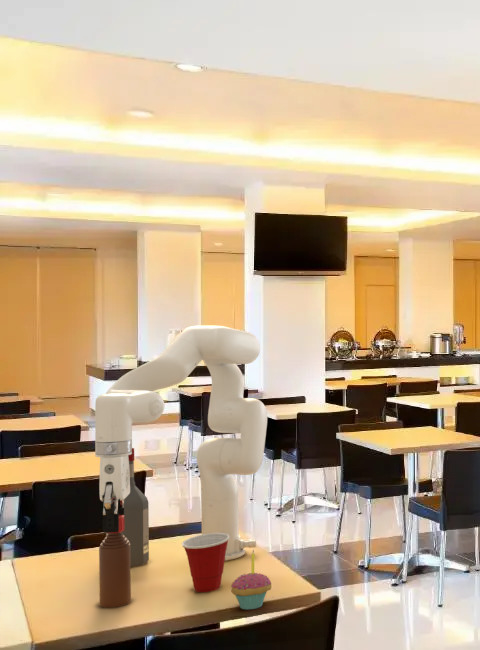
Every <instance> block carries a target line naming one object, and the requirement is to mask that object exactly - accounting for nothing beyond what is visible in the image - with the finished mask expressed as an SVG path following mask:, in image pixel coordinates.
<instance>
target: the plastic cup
mask: <svg viewBox="0 0 480 650" xmlns="http://www.w3.org/2000/svg"><path fill="white" fill-rule="evenodd" d="M229 538H230V536H229V534H225V533H209V534H203V535H202V534H199V535H195V536H192V537H188V538H186V539H185V540H183V541H182V542H181V546H182V548H183V549H184V551H185V554H186V556H187V562H188V566H189V572H190V576H191V579H192V586H193V589H194V591H195V592H196V593H209V592H213V591H214V592H215V591H217V590H219V589H220V588H221V585H222V579H223V574H224V567H225V562H226V561H225V554H226V550H227V543H228V539H229Z"/></svg>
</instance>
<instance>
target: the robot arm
mask: <svg viewBox="0 0 480 650" xmlns="http://www.w3.org/2000/svg"><path fill="white" fill-rule="evenodd" d="M260 352H261V344H260V341H259V339H258V337H257V336H256V335H255V334H253V333H252V332H249V331H246V330H242V329H237V328H233V327H228V326H224V325H193V326H192V325H191V326H189V327H186V328H184V329H183V330H182V331H181V332H180V333H179V334H178V335H177V336H176V337H175V338H174V339H173V340H172V341H171V342H170V344H168V346H167V347H165V349H164V350H162V352H161V353H160V354H159V356H157V357H156V358H154V359H152V360H150V361H147V362H145V363H143V364H142V365H139V366H138V367H135V368H134V369H131V370H130V371H128V372H127V373H124V374H123V375H122V376H121V377H119V378H118V379H117V380H116V382H114V383H113V384H112V385H111V386H110V387H109V388H108V390H107V391H106V392H105V393H104V394H100V395H97V397H96V398H95V404H94V409H95V410H94V411H95V414H94V415H95V417H94V418H95V419H94V420H95V421H94V423H95V425H94V426H95V428H94V429H95V431H94V432H95V433H94V437H95V438H94V441H95V442H94V444H95V446H94V449H95V450H94V451H95V454H94V456H95V457H96V458H99V459H100V460H99V484H98V485H99V489H98V490H99V501H101V502H103V509H102V533H103V534H106V533H112V532H118V531H119V515H124V508H123V507H124V499H125V498H126V497H127V496H128V495H129V494H130V473H129V458H128V455H131V454H132V448H133V424H135V423H136V424H137V423H138V424H148V423H152V422H155V421H157V420H158V419H159V418H160V417H161V416H162V415H163V413H164V410H165V401H164V399H163V397H162V396H161V395H160V394H159V393H157V392H156V391H159V390H163V389H167V388H170V387H173V386H176V385H178V384H182V382H184V381H185V380H186V379H187V378H188V377H189V375H191V373H192V372H193V371H194V370H195V369H196V367H197V366H198V365H199V364H201V362H202V361H203V363H204V364H205V366H206V367H207V369H208V371H209V374H210V377H211V390H210V396H209V405H208V411H207V413H208V414H207V426H208V427H209V429H210V430H211V431H213V432H216V433H222V434H240V438H236V437H235V438H234V437H212V438H208V439H206V440H204V441H203V442H201V443H200V444H199V446H198V448H197V451H196V465H197V469H198V473H199V478H200V500H201V501H200V504H201V507H200V508H201V509H200V511H201V515H200V516H201V519H200V521H201V535H203V534H209V533H225V534H229V536H230V538H229V539H228V543H227V550H226V554H225V561H224V562H226V561H231V560H236V559H239V558H241V557H243V556H244V555H245V553H246V549H245V548H249V549H251V548H257V540H256V539H252V538H247V539H243V538H242V536H241V535H242V534H240V528H239V527H240V521H239V520H240V517H239V516H240V515H239V514H240V513H239V512H240V511H239V508H240V507H239V486H238V483H237V481H236V479H235V477H234V475H236V476H237V475H238V476H250V475H251V476H252V475H254V474H256V473H257V472H258V471H259V470H260V468H261V466H262V464H263V459H264V454H265V446H266V437H267V428H268V412H267V408H266V406H265V404H264V403H263V402H262V401H261V400H259V399H258V398H253V397H252V398H251V397H244V391H245V378H244V375H243V372H242V371H241V369H240V367H239V366H238V365H248V364H252V363H254V361H256V360H257V358H258V357H259V356H260ZM113 499H114V500H113Z"/></svg>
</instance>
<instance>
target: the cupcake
mask: <svg viewBox="0 0 480 650" xmlns="http://www.w3.org/2000/svg"><path fill="white" fill-rule="evenodd" d="M255 555H256V553H255V549H253V550H252V552H251V562H250V563H251V564H250V565H251V566H250V572H249V573H243V574H242V575H239V576H238V577H237V578H236V579H235V580H234V581H233V582H232V584H231V589H230V591H231V593H232V594H233V595H234V596H235V598H236V600H237V602H238V605H239V608H240V609H242V610H246V611H247V610H256V609H259V608H261V607H262V606H263V603H264V600H265V598H266V595H267V593H268V591H270V590H271V589H272V581H271V579H270V578H269V576H267V575H265V574H263V573H257V572H255V563H256V562H255V561H256V559H255Z"/></svg>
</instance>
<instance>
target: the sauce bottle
mask: <svg viewBox="0 0 480 650" xmlns="http://www.w3.org/2000/svg"><path fill="white" fill-rule="evenodd" d="M98 567H99V568H98V569H99V571H98V575H99V579H98V581H99V607H100V608H107V609H108V608H109V609H110V608H112V609H113V608H119V607H124V606H126V605H128V604H130V603H131V601H132V592H131V591H132V590H131V589H132V587H131V581H132V580H131V578H132V577H131V575H132V574H131V572H132V571H131V570H132V569H131V568H132V567H131V568H130V543H129V540H127V538H126V537H125V536H124V535H123V533H121V532H118V533H108V534H107V537H106V536H105V537H104V538H103V540H102V541H101V543H100V545H99V547H98Z"/></svg>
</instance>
